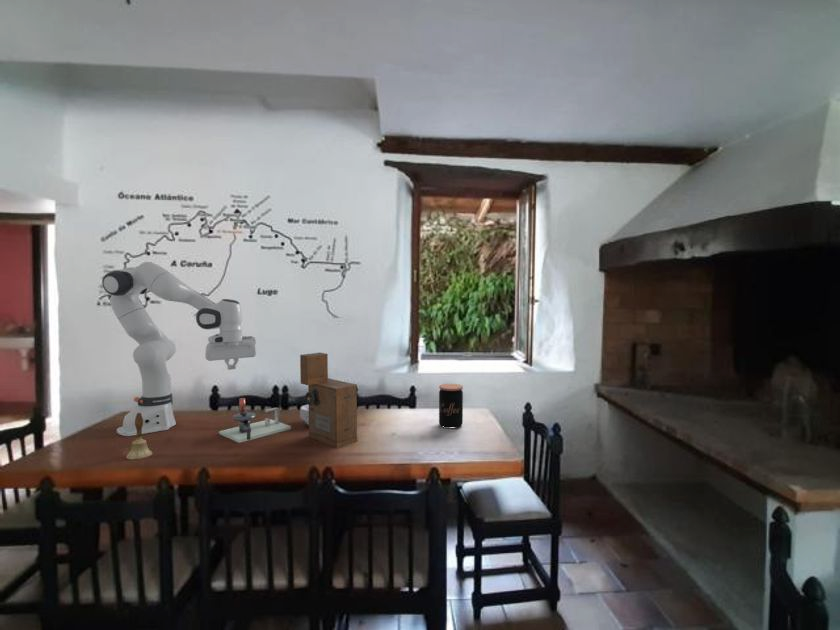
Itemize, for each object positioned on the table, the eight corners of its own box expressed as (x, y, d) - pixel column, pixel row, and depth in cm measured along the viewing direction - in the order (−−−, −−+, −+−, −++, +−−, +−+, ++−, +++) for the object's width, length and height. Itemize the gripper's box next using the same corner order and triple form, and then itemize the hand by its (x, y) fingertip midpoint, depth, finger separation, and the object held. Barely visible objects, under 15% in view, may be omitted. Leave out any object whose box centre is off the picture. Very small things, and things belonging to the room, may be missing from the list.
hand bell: (149, 450, 174) (147, 408, 173) (155, 455, 168) (153, 413, 167) (123, 455, 168) (122, 413, 167) (129, 461, 162) (127, 417, 161)
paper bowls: (314, 417, 219) (314, 400, 218) (340, 421, 212) (340, 404, 212) (293, 425, 205) (293, 408, 205) (320, 430, 198) (320, 412, 198)
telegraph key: (231, 426, 198) (230, 399, 197) (253, 423, 202) (252, 397, 201) (236, 442, 178) (236, 411, 177) (260, 438, 182) (260, 408, 181)
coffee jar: (435, 427, 203) (435, 387, 202) (443, 420, 213) (443, 382, 212) (458, 430, 199) (458, 389, 198) (465, 423, 209) (465, 384, 208)
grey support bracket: (267, 426, 199) (267, 410, 199) (265, 425, 201) (264, 409, 200) (279, 423, 204) (279, 408, 203) (276, 422, 205) (276, 407, 205)
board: (238, 442, 182) (238, 419, 181) (219, 433, 193) (218, 411, 192) (291, 429, 200) (290, 407, 199) (270, 421, 211) (269, 401, 210)
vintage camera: (300, 439, 186) (299, 354, 184) (328, 431, 197) (327, 351, 195) (328, 450, 174) (328, 359, 172) (357, 441, 184) (356, 355, 182)
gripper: (253, 335, 203) (253, 365, 204) (203, 337, 190) (204, 370, 191) (258, 336, 198) (258, 367, 199) (207, 339, 185) (208, 372, 186)
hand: (231, 369), depth 195 cm, fingers closed
